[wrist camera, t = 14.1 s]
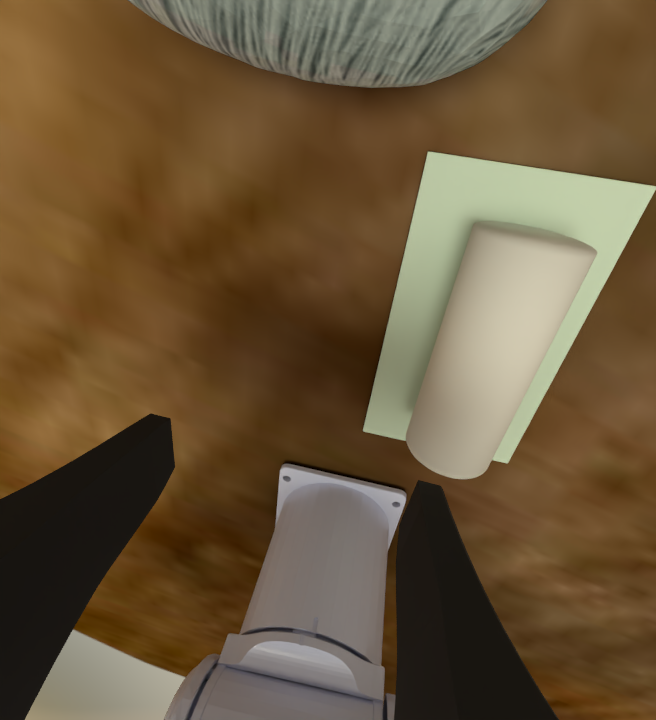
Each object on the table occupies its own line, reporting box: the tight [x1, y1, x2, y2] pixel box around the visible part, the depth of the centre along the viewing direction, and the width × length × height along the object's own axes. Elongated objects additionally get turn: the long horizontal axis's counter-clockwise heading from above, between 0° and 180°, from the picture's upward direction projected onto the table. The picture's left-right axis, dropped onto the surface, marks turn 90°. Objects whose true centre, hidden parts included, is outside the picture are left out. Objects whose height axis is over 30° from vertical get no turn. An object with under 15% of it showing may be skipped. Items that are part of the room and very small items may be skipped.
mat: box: [363, 151, 656, 463], centre depth 18 cm, size 14×8×1 cm, turn 173°
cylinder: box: [406, 221, 597, 479], centre depth 16 cm, size 10×4×4 cm, turn 173°
